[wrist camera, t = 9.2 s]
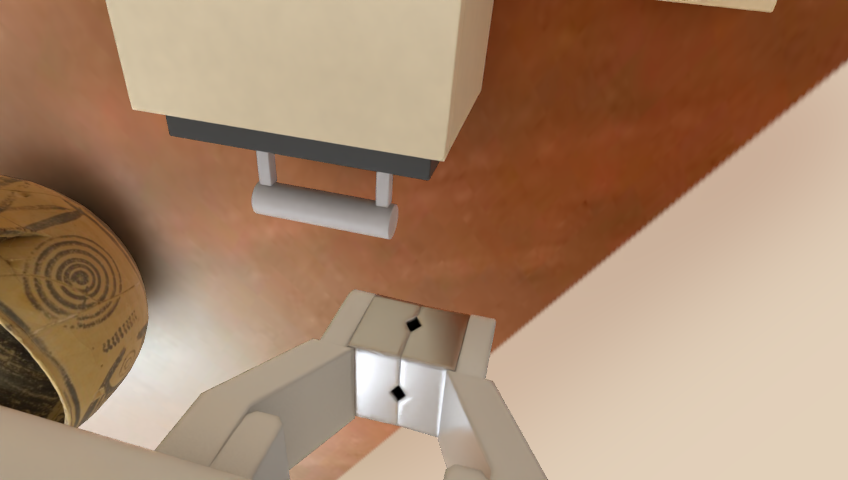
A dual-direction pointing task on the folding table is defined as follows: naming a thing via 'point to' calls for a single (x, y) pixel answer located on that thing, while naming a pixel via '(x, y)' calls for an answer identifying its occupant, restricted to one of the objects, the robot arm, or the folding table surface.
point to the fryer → (310, 66)
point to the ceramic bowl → (63, 305)
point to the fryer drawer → (311, 202)
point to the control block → (734, 4)
